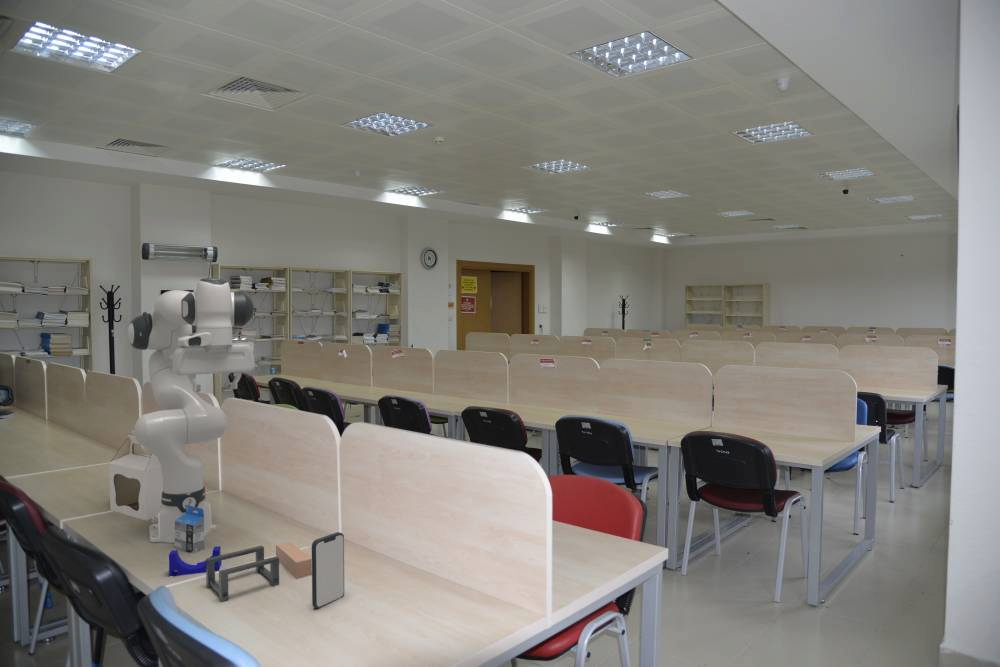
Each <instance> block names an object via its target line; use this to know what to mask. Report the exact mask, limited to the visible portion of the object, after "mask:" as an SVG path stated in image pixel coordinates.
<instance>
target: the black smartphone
mask: <svg viewBox="0 0 1000 667" xmlns="http://www.w3.org/2000/svg"><path fill="white" fill-rule="evenodd" d="M311 563H312V575H311V586H312V587H311V591H312V592H311V602H312V603H311V604H312V607H313V608H315V609H321V608H323V607H326V606H327V605H329V604H332V603H333V602H335V601H337V600H339V599H342V598H343V597H344V596H345V537H344V534H343V533H342V532H340V531H338V532H334V533H331V534H328V535H325V536H322V537H320V538H319V537H318V538H317V539H314V540H313V541H312V543H311Z"/></svg>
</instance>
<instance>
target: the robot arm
mask: <svg viewBox="0 0 1000 667" xmlns="http://www.w3.org/2000/svg"><path fill="white" fill-rule="evenodd" d="M229 283H230V282H229V281H227V280H225V279H221V278H216V277H215V278H214V277H213V278H212V277H205V278H201V279H199V280H198V281H197V284H196V285H197V286H196V288H195V290H194V291H187V290H182V289H172V290H168V291H164V293H162V294H160V295H159V296H158V297H157V298H156V300H155V301H154V306H153V307H154V309H153V312H151V313H148V312H147V311H143V312H142V314H141V315H138V316H136V317H135V318H134V319H132V320H131V321H130V323H129V325H128V328H127V338H128V341H129V345H131V346H132V348H133V349H137V350H140V351H141V350H142V351H146V350H150V351H151V350H153V352H152V353H151V355H149V359H148V375H149V376H148V377H149V381H150V385H151V390H152V393H153V398H154V400H155V402H156V403H157V404H158V406H160V407H161V408H163V409H165V410H156V411H151V412H148V413H145V414H141V416H140V417H139V418H138V419H137V421H136V422H135V425H134V429H133V430H134V433H135V437H136V439H137V441H138V442H139V444H140V445H141V446H142V448H146V449H147V450H148V451H150V452H151V454H152V453H153V454H154V455H155V456H156V457H157V458H158V460H159V462H160V464H161V468H162V475H163V491H162V495H161V503H162V504H161V506H160V507H159V509H158V510H157V515H151V519H150V520H151V521H150V522H151V523H152V524H150V525H149V527H148V531H149V533H148V534H149V543H168V544H169V543H170V544H171V543H173V544H174V540H175V520H177V519H178V518H180V517H181V516H182V515H184V514H185V513H186V508H185V505H189V506H194V507H198V508H202V509H203V511H204V537H205V536H206V535H208V534H209V533H210V532H211V531H212V530H214V529H215V528H217V524H214V523H212V511H211V503H209V502H208V501H206V487H205V486H204V464H203V462H202V461H201V460H200V459H199V458H198V457H195V456H193V455H192V454H188V453H184V451H183V446H184V445H192V444H199V443H206V442H210V441H213V440H216V439H219V438H221V437H223V435H224V434H225V433H226V430H227V428H228V419H227V415H226V413H225V412H224V411H223V409H221V408H219V407H217V406H214V405H213V404H210V403H209V402H207V401H205V400H204V399H202V398H201V397H200V396H199V395H198V394H197V393H200V392H201V391H202V390H201V388H202V387H201V384H197V382H196V379H197V376H198V375H209V374H228V373H233V376H234V379H233V380H232V382H229V389H230V390H237V389H238V383H239V381H240V379H241V378H242V373H245V372H252V371H254V369H255V367H256V366H255V356H254V352H255V344H254V341H253V340H251V339H249V338H248V337H243V338H238V337H235V338H234V337H233V327H244V326H245V325H246V324H248V322H250V321H251V320H252V318H253V316H254V303H253V301H252V298H251V297H250V296H249V295H248V294H247V293H245V292H244V291H242V290H241V291H231V287H230V284H229ZM192 512H195V513H198V511H195V510H192ZM153 523H154V524H153Z"/></svg>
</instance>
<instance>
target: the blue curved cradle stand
mask: <svg viewBox="0 0 1000 667" xmlns="http://www.w3.org/2000/svg"><path fill="white" fill-rule="evenodd" d="M178 550H179V549H173V550H171V551H170V552H169V554H168V577H169V578H171V577H170V576H172V577H180V576H181V577H182V576H187V575H195V574H196V575H197V574H204V573H205V574H206V559H205V560H203V561H200V562H197V563H196V564H189V563H187V562H185V561H184V560H183V559H182V558H181V557H180V554H179V551H178ZM211 553H212V554H211V556H209V557H208V558H211V557H215V556H220V555H222V554H221V546H220V545H219V546H218V545H217V546H213V549H212V552H211ZM222 562H223V560H221V561H217V562H215V572H219V571H220V569H221V567H222Z"/></svg>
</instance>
